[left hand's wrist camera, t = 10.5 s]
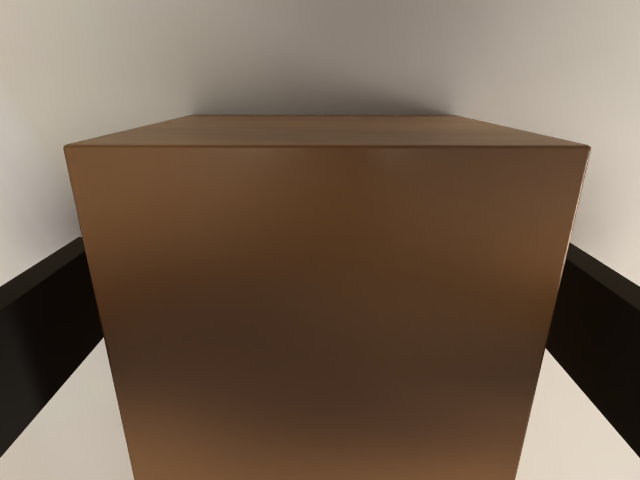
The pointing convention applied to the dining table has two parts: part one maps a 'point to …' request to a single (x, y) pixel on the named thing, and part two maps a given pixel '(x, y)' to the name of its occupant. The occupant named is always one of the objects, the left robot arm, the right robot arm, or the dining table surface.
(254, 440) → the wooden square beam
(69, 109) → the dining table surface
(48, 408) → the dining table surface
